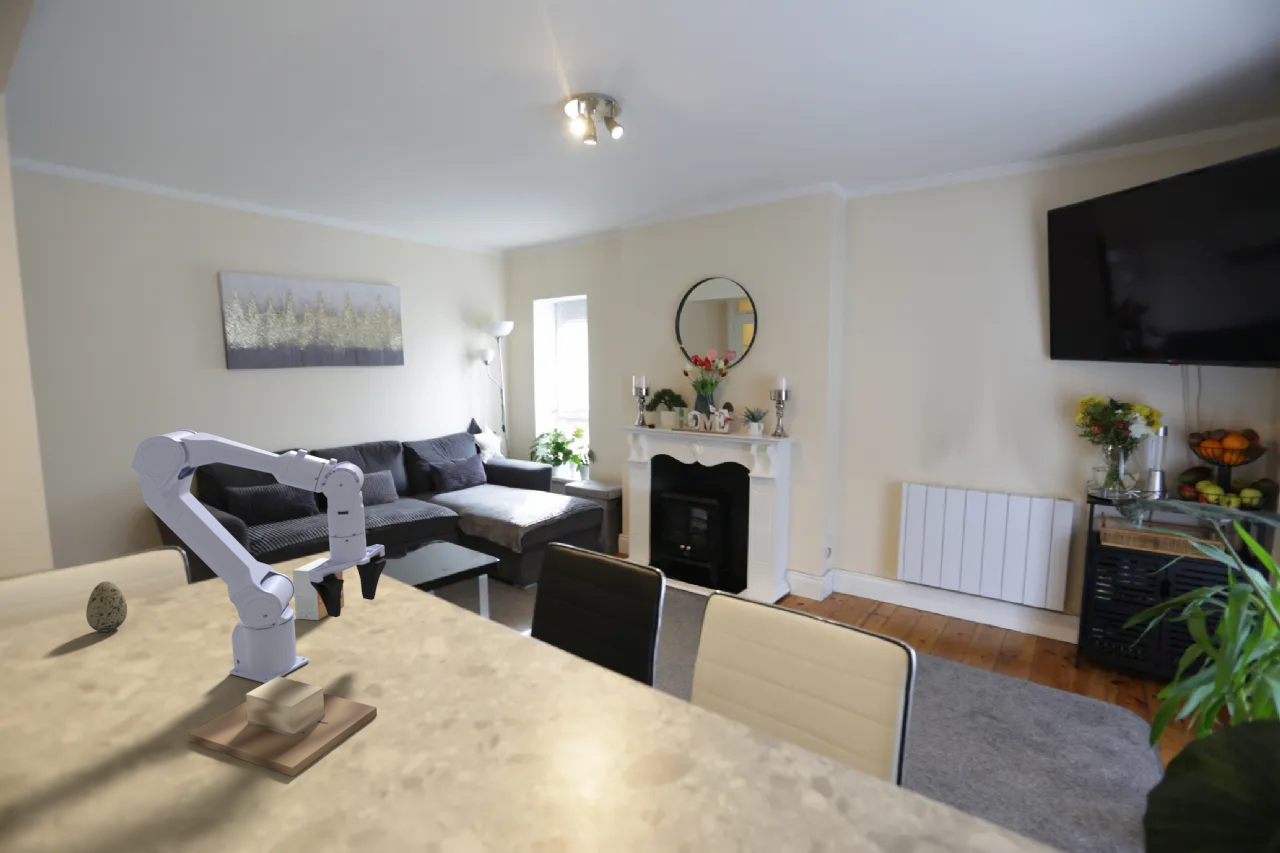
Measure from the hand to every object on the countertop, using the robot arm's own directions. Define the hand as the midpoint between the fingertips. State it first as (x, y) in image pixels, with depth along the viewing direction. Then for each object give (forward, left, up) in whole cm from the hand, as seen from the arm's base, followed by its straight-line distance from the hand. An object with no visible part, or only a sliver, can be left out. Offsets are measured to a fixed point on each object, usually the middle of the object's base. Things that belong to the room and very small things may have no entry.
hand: (352, 606), depth 104 cm
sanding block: (+7, -19, -8) cm, 22 cm away
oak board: (+7, -19, -9) cm, 22 cm away
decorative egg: (-54, -9, -10) cm, 56 cm away
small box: (-22, +12, -10) cm, 27 cm away
